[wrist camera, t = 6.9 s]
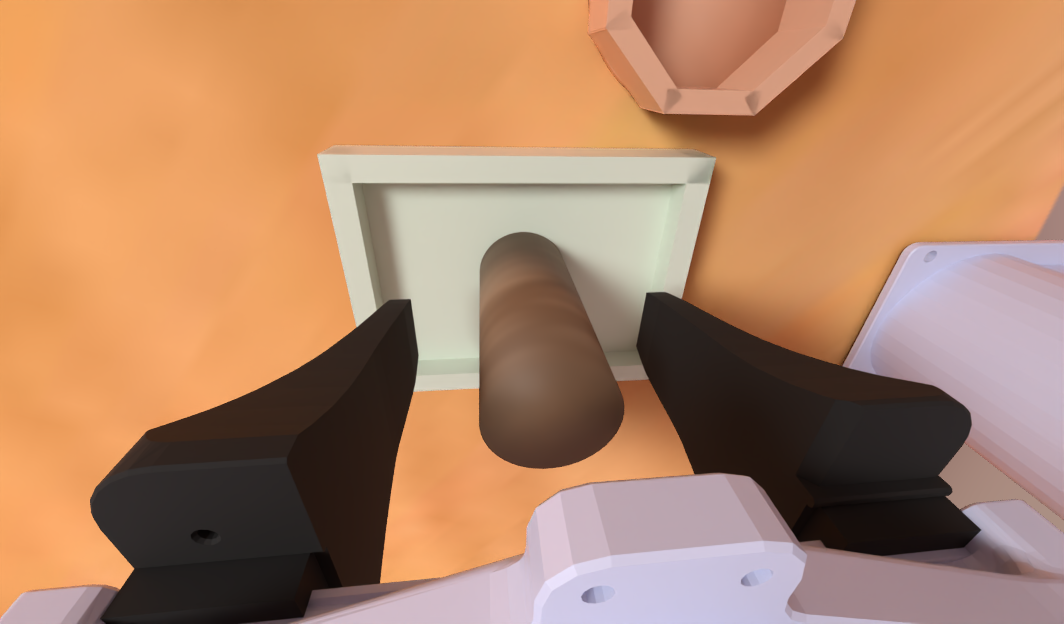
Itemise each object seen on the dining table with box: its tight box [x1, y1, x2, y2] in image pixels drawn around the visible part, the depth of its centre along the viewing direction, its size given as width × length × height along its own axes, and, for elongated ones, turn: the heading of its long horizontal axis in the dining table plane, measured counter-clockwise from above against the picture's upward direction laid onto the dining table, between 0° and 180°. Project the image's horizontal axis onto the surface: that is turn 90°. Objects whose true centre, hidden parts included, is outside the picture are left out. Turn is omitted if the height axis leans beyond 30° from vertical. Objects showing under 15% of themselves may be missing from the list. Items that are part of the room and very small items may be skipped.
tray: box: [317, 145, 716, 392], centre depth 15 cm, size 12×9×2 cm
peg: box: [479, 232, 624, 469], centre depth 12 cm, size 3×3×8 cm
